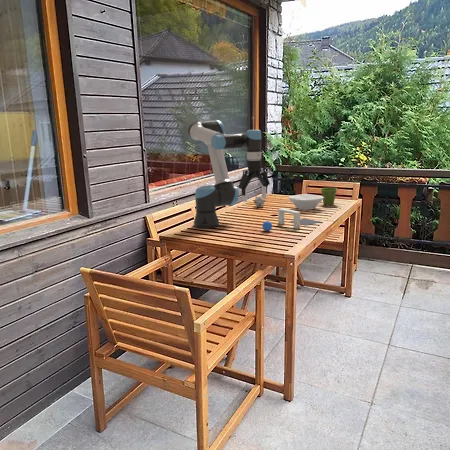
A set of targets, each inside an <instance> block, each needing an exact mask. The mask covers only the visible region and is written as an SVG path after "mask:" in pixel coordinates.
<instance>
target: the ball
mask: <svg viewBox="0 0 450 450" xmlns="http://www.w3.org/2000/svg"><path fill="white" fill-rule="evenodd" d="M262 229H263V230H264V231H266V232H269V231H271V230H272V229H273V224H272V222H271V221H269V220H268V221H267V220H266V221H263V223H262Z"/></svg>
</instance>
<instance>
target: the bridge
mask: <svg viewBox="0 0 450 450" xmlns="http://www.w3.org/2000/svg"><path fill="white" fill-rule="evenodd" d="M277 213H278V216H277V217H278V219H277V221H278V223H277V224H278V225H284V224H285V213H286V214H291V215H293V221H294V223H293V229H300V228H301V224H300V219H301V211H297V210H293V209H288V208H282V207H281V208H278V211H277Z"/></svg>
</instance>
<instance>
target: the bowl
mask: <svg viewBox="0 0 450 450" xmlns="http://www.w3.org/2000/svg"><path fill="white" fill-rule="evenodd" d="M323 198H324V197H322V195H317V194H310V193H302V194H295V195H289V196H288V200H290V202H291V203H293V204H294V207H295V208H297V209H298V210H304V211H308V210H313V209H316V208H317V206H318V205H319V204H320V203H322V201H323Z"/></svg>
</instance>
